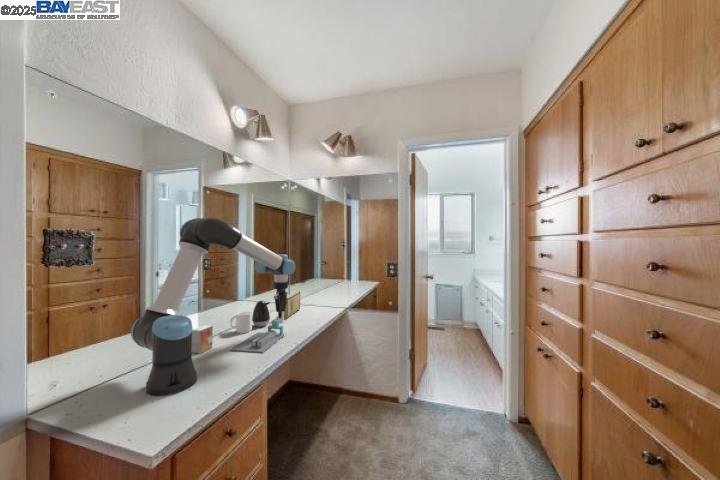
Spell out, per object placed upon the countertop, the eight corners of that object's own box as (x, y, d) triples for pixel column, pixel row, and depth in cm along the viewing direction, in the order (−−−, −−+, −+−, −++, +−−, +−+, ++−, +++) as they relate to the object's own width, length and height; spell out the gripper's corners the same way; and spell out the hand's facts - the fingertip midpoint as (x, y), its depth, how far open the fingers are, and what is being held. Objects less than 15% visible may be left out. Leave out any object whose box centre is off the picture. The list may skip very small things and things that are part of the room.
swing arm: (267, 336, 149) (267, 331, 149) (270, 337, 148) (270, 331, 149) (251, 347, 134) (251, 341, 134) (255, 347, 134) (255, 341, 134)
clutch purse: (292, 309, 213) (292, 289, 214) (301, 310, 213) (301, 290, 213) (275, 320, 184) (276, 297, 184) (286, 320, 183) (286, 297, 183)
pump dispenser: (266, 328, 167) (266, 302, 167) (249, 328, 167) (249, 302, 167) (272, 323, 177) (272, 299, 177) (255, 323, 177) (256, 299, 177)
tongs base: (272, 335, 151) (272, 330, 151) (277, 335, 151) (277, 330, 151) (254, 347, 134) (254, 341, 134) (261, 348, 133) (261, 341, 133)
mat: (263, 353, 129) (263, 351, 129) (229, 350, 131) (229, 349, 131) (286, 334, 154) (286, 333, 154) (257, 333, 157) (257, 332, 157)
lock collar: (269, 333, 155) (269, 319, 155) (283, 333, 154) (283, 320, 154) (267, 334, 153) (267, 320, 153) (281, 335, 152) (281, 321, 152)
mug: (226, 333, 157) (226, 315, 157) (233, 329, 165) (233, 311, 165) (248, 333, 157) (248, 315, 157) (254, 329, 165) (254, 311, 165)
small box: (200, 353, 128) (200, 330, 128) (189, 352, 129) (189, 329, 129) (212, 347, 136) (213, 325, 136) (202, 346, 137) (202, 324, 137)
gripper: (282, 283, 153) (282, 326, 153) (291, 280, 166) (291, 320, 166) (269, 283, 155) (269, 326, 154) (279, 279, 167) (279, 319, 167)
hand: (280, 323), depth 160 cm, fingers closed
